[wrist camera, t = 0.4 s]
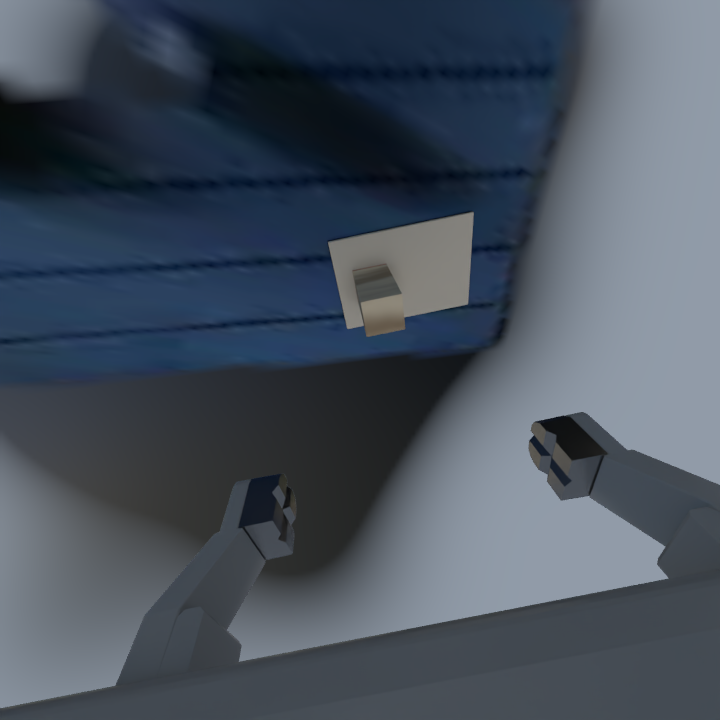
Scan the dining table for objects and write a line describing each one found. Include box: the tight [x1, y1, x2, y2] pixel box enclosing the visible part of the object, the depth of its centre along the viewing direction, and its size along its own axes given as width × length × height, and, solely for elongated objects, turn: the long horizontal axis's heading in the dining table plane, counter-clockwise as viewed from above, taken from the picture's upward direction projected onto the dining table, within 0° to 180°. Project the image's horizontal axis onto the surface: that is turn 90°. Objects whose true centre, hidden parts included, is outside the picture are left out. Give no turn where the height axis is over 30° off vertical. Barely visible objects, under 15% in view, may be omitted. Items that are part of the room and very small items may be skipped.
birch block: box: [352, 264, 405, 337], centre depth 42 cm, size 5×5×10 cm
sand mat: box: [328, 212, 474, 329], centre depth 46 cm, size 14×20×1 cm
